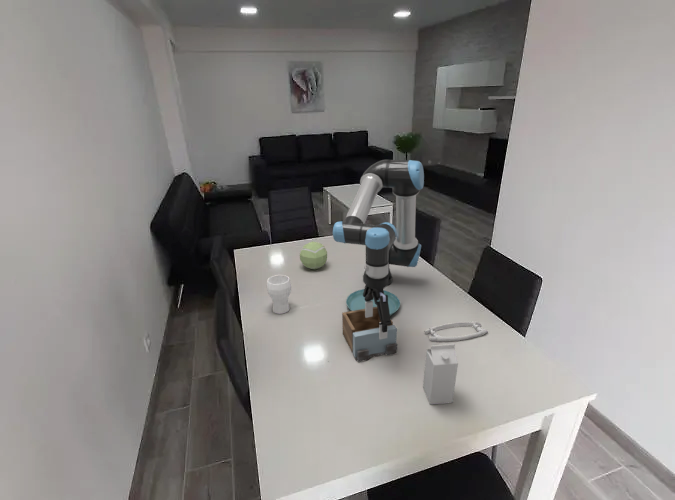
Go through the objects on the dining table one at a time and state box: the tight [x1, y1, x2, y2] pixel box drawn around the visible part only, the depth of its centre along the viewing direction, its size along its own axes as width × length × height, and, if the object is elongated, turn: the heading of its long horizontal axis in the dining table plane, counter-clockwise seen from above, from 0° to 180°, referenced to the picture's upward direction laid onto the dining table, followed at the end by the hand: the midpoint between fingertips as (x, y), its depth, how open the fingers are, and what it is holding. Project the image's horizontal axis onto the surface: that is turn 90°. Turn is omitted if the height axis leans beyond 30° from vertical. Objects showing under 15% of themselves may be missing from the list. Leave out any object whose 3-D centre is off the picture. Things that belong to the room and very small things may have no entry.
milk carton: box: [422, 343, 459, 405], centre depth 106 cm, size 7×7×19 cm
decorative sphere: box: [299, 241, 328, 270], centre depth 197 cm, size 15×15×15 cm
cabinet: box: [341, 307, 398, 363], centre depth 133 cm, size 16×18×10 cm
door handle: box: [423, 320, 489, 343], centre depth 139 cm, size 3×10×25 cm
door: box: [352, 324, 398, 359], centre depth 127 cm, size 16×2×9 cm, turn 106°
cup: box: [266, 274, 292, 315], centre depth 156 cm, size 11×11×15 cm
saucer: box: [345, 288, 401, 317], centre depth 158 cm, size 24×24×3 cm
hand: (375, 326), depth 126 cm, fingers open, 13 cm apart
